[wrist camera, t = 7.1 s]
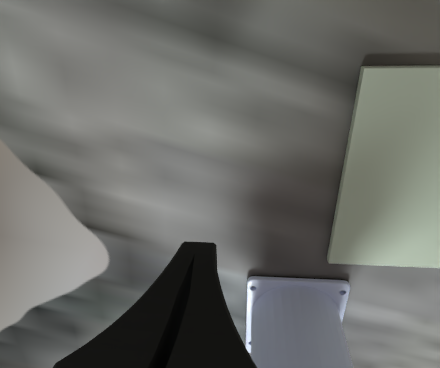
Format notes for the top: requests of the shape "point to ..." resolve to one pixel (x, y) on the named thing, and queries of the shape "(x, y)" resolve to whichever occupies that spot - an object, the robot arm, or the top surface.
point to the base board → (391, 171)
